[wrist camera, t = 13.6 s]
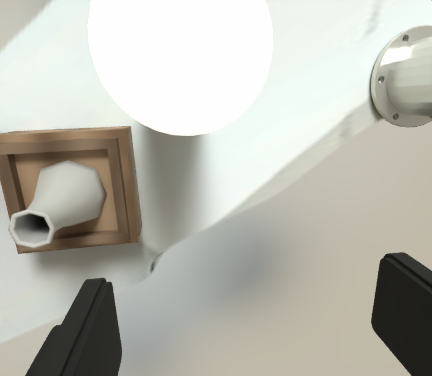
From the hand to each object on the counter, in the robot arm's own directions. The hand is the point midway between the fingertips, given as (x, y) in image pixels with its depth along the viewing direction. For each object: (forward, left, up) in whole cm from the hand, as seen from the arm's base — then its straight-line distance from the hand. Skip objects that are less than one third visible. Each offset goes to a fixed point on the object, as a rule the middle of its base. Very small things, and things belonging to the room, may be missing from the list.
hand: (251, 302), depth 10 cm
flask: (+13, +2, -24) cm, 28 cm away
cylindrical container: (+1, -9, -29) cm, 31 cm away
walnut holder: (+13, +2, -29) cm, 32 cm away
